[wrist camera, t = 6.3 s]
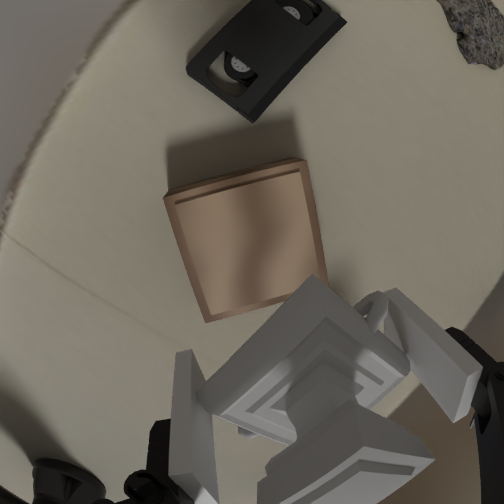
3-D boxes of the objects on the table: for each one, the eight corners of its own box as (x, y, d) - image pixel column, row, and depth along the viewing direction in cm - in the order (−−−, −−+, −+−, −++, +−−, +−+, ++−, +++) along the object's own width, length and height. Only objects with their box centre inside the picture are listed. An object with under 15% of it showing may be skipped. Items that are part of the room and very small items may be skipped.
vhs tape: (279, -19, 23) (284, -28, 21) (339, 27, 26) (347, 22, 24) (184, 73, 26) (183, 69, 24) (251, 123, 28) (254, 122, 26)
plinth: (204, 303, 33) (205, 324, 29) (168, 190, 29) (162, 198, 25) (315, 271, 33) (329, 288, 30) (293, 157, 29) (307, 160, 25)
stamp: (280, 420, 16) (318, 548, 9) (180, 372, 14) (178, 534, 6) (398, 308, 15) (504, 417, 7) (312, 226, 13) (445, 348, 5)
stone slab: (517, 75, 29) (531, 75, 26) (450, 63, 28) (466, 60, 25) (497, 4, 25) (510, 0, 22) (424, -21, 24) (437, -29, 21)
